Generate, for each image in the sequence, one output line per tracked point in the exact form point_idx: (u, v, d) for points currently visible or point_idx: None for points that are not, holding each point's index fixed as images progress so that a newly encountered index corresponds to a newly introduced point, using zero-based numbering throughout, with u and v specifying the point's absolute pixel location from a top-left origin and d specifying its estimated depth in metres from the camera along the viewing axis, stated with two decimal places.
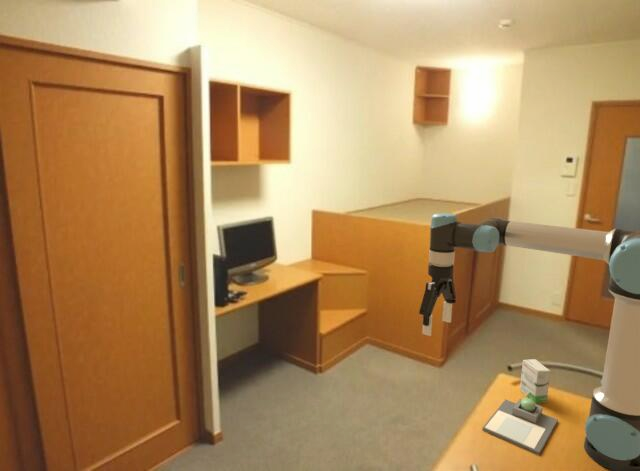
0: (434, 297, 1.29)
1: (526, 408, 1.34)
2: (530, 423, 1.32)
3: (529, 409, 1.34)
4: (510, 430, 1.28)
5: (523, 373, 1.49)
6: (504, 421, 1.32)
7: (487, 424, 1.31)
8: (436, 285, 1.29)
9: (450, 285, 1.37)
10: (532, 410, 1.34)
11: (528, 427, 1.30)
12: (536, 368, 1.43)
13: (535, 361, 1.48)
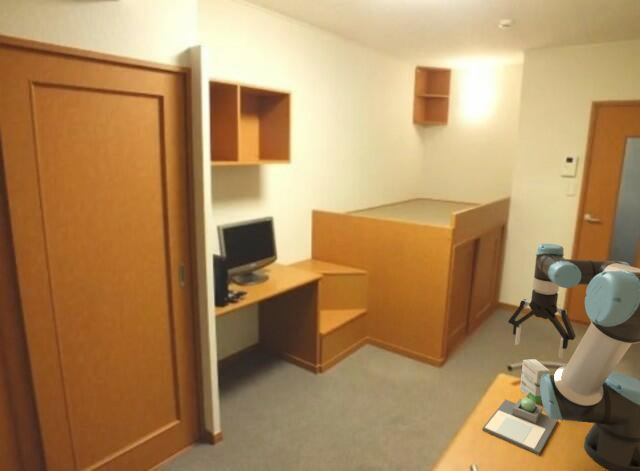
0: (526, 314, 1.44)
1: (526, 408, 1.34)
2: (530, 423, 1.32)
3: (529, 409, 1.34)
4: (510, 430, 1.28)
5: (523, 373, 1.49)
6: (504, 421, 1.32)
7: (487, 424, 1.31)
8: (529, 305, 1.43)
9: None
10: (532, 410, 1.34)
11: (528, 427, 1.30)
12: (536, 368, 1.43)
13: (535, 361, 1.48)
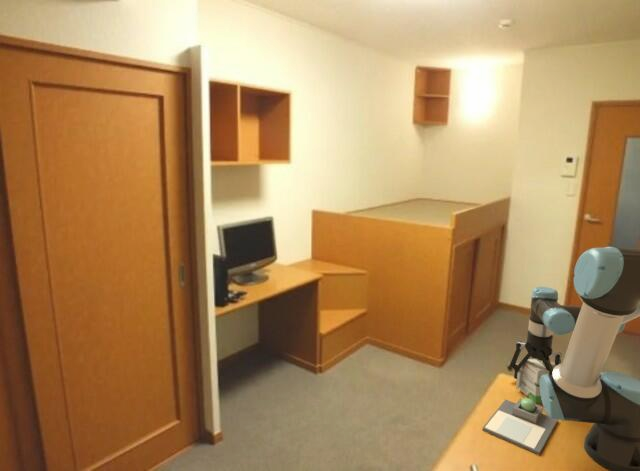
0: (524, 357, 1.47)
1: (526, 408, 1.34)
2: (530, 423, 1.32)
3: (529, 409, 1.34)
4: (510, 430, 1.28)
5: (523, 373, 1.49)
6: (504, 421, 1.32)
7: (487, 424, 1.31)
8: (525, 346, 1.46)
9: None
10: (532, 410, 1.34)
11: (528, 427, 1.30)
12: (536, 368, 1.43)
13: (535, 361, 1.48)
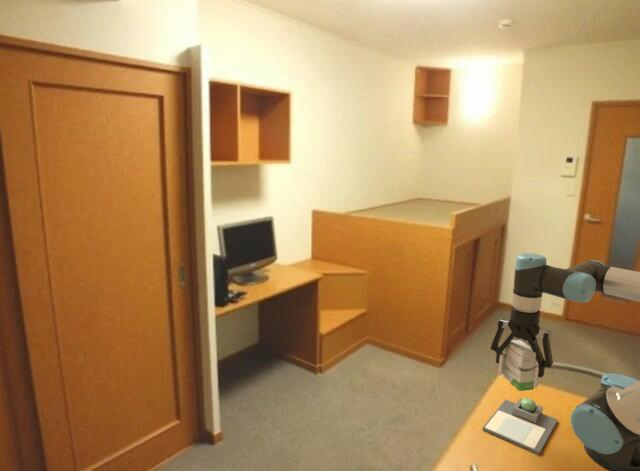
0: (507, 338, 1.25)
1: (526, 408, 1.34)
2: (530, 423, 1.32)
3: (529, 409, 1.34)
4: (510, 430, 1.28)
5: (506, 356, 1.27)
6: (504, 421, 1.32)
7: (487, 424, 1.31)
8: (508, 325, 1.24)
9: None
10: (532, 410, 1.34)
11: (528, 427, 1.30)
12: (521, 350, 1.21)
13: (520, 342, 1.26)
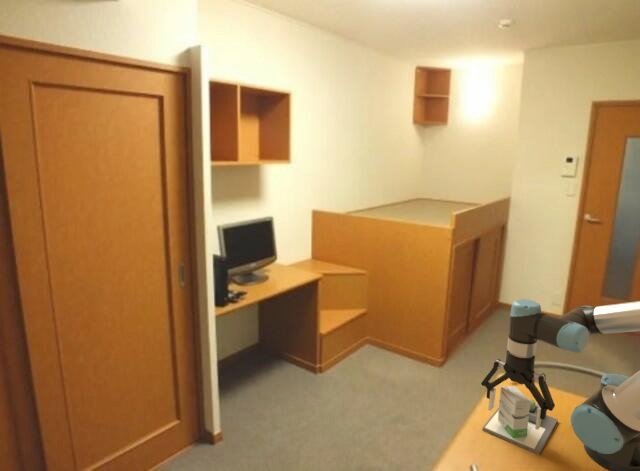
0: (500, 377, 1.28)
1: None
2: (530, 423, 1.32)
3: None
4: None
5: (500, 402, 1.30)
6: None
7: (487, 424, 1.31)
8: (503, 367, 1.27)
9: None
10: (532, 410, 1.34)
11: (528, 427, 1.30)
12: (515, 398, 1.24)
13: (514, 388, 1.29)
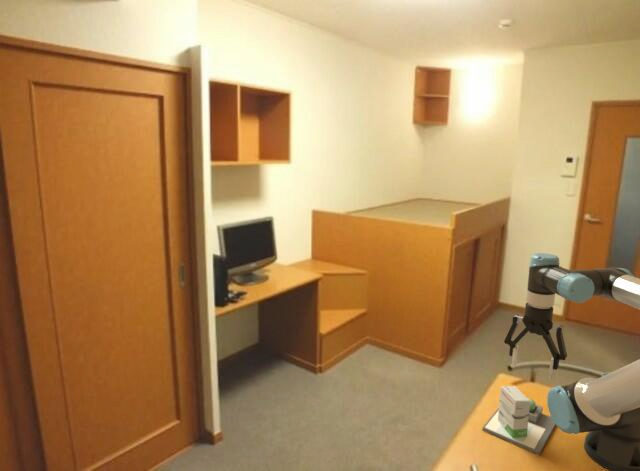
0: None
1: None
2: (530, 423, 1.32)
3: (529, 409, 1.34)
4: None
5: (500, 402, 1.30)
6: None
7: (487, 424, 1.31)
8: (522, 320, 1.32)
9: None
10: (532, 410, 1.34)
11: (528, 427, 1.30)
12: (514, 398, 1.24)
13: (514, 388, 1.29)
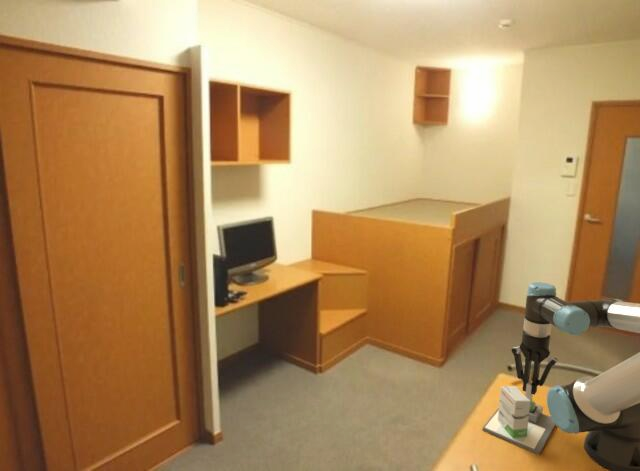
0: None
1: None
2: (530, 423, 1.32)
3: (529, 410, 1.34)
4: None
5: (500, 402, 1.30)
6: None
7: (487, 424, 1.31)
8: (520, 349, 1.34)
9: None
10: (532, 411, 1.34)
11: (528, 427, 1.30)
12: (515, 398, 1.24)
13: (514, 388, 1.29)
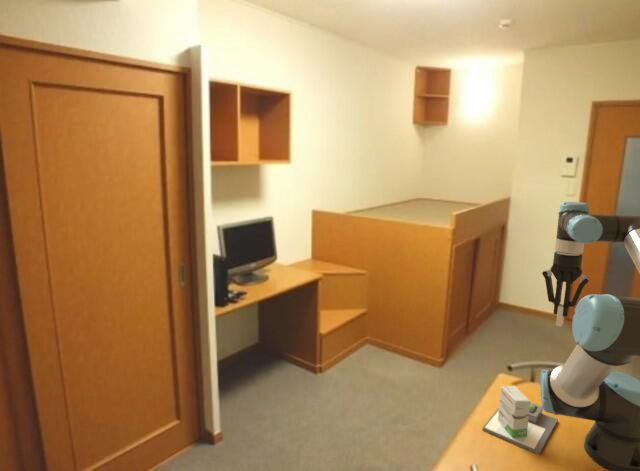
0: None
1: None
2: (530, 423, 1.32)
3: None
4: None
5: (500, 402, 1.30)
6: None
7: (487, 424, 1.31)
8: (552, 271, 1.33)
9: (578, 287, 1.29)
10: None
11: (528, 427, 1.30)
12: (515, 398, 1.24)
13: (514, 388, 1.29)
